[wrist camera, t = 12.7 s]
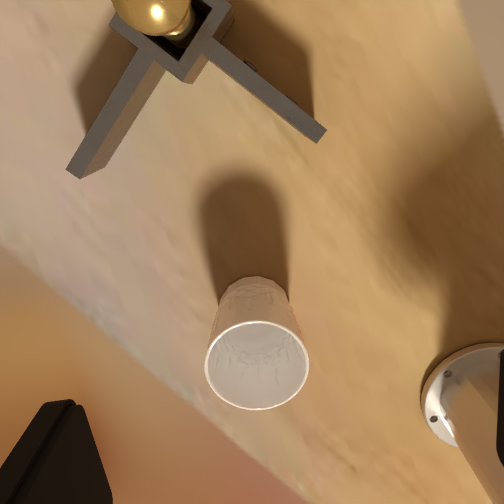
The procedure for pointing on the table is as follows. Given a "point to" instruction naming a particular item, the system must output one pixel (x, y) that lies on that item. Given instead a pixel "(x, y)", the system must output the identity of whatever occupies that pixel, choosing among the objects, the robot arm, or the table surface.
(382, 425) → the table surface
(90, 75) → the table surface
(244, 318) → the white cup
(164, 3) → the hinge pin
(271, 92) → the hinge body
